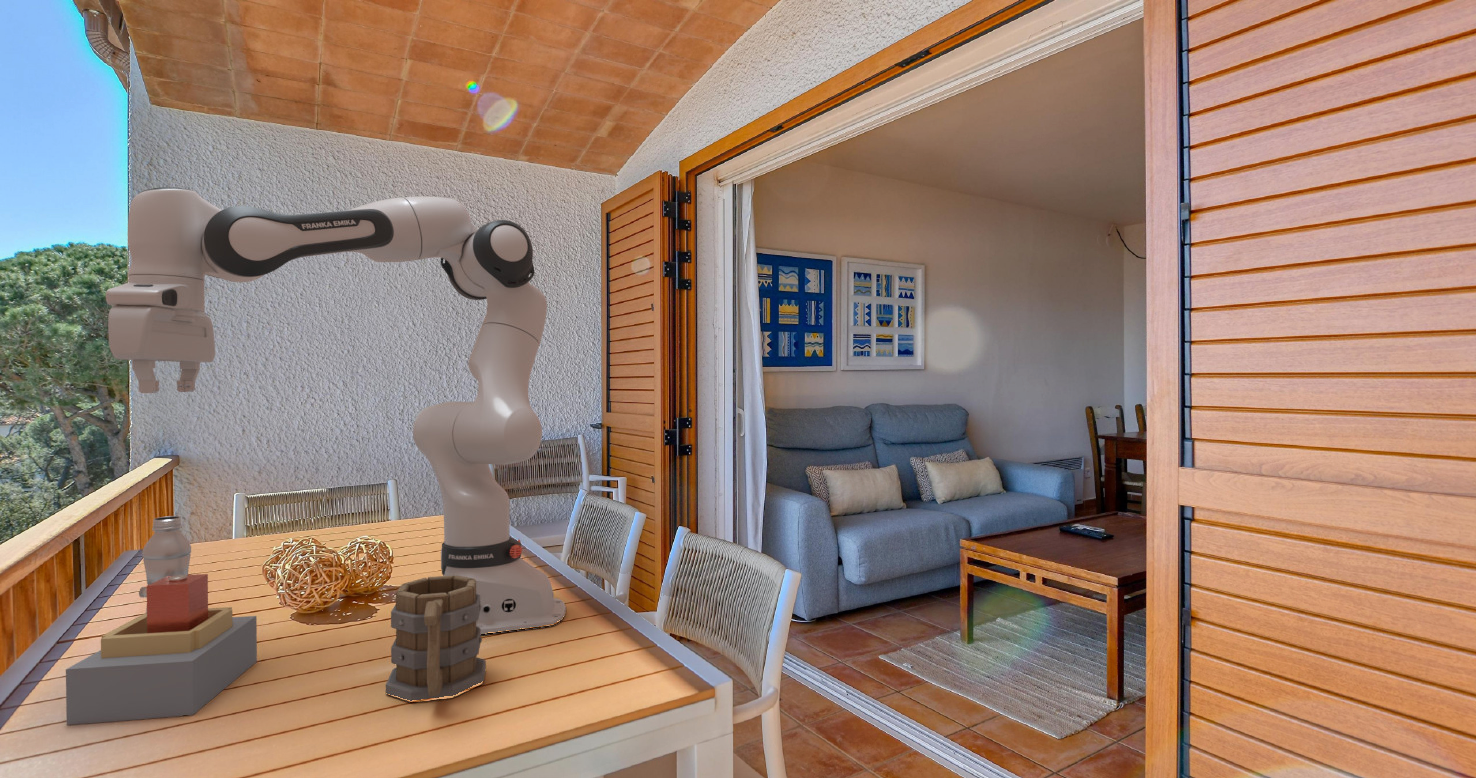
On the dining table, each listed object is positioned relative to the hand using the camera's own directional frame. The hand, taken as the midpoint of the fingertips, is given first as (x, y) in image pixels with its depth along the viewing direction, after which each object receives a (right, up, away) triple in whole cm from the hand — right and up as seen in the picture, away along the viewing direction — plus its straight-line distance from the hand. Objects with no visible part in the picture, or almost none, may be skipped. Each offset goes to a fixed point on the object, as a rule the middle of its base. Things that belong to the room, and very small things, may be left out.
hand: (168, 392), depth 107 cm
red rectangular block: (+6, -34, -6) cm, 35 cm away
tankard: (+42, -42, -7) cm, 60 cm away
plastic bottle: (-11, -41, +14) cm, 45 cm away
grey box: (+5, -41, -6) cm, 42 cm away
